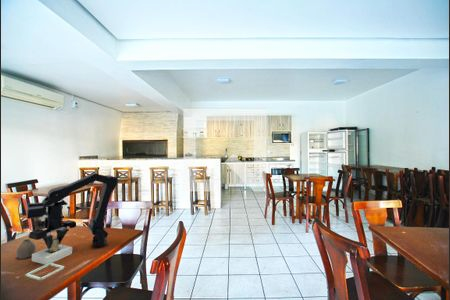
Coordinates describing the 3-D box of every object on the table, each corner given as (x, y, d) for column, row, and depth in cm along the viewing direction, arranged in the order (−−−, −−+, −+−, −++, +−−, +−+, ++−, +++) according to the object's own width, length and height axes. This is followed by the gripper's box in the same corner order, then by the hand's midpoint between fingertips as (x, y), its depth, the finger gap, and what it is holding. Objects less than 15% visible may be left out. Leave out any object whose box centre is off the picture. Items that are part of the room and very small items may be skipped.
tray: (50, 265, 102) (50, 262, 102) (64, 269, 99) (64, 266, 99) (25, 277, 92) (25, 274, 92) (40, 282, 89) (40, 278, 89)
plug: (54, 252, 110) (55, 236, 110) (60, 254, 109) (61, 238, 109) (45, 256, 107) (46, 239, 106) (52, 258, 105) (52, 241, 105)
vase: (36, 258, 108) (37, 240, 108) (17, 263, 103) (17, 244, 103) (34, 253, 112) (34, 236, 112) (15, 257, 107) (16, 239, 107)
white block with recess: (57, 251, 115) (57, 243, 115) (72, 254, 112) (72, 247, 112) (31, 262, 104) (31, 254, 104) (47, 266, 101) (47, 258, 101)
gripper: (61, 208, 119) (60, 237, 119) (20, 218, 101) (19, 252, 101) (77, 210, 116) (76, 240, 116) (38, 221, 98) (37, 256, 98)
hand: (53, 246), depth 108 cm, fingers closed on plug, 4 cm apart
